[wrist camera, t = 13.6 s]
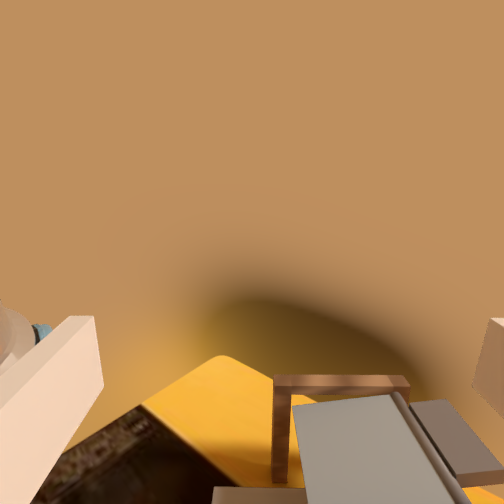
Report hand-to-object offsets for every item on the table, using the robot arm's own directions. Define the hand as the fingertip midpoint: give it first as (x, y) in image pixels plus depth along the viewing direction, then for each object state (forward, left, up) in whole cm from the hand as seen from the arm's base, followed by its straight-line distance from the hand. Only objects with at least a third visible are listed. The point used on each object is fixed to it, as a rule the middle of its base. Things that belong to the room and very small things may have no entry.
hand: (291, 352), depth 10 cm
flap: (+12, +15, -21) cm, 28 cm away
